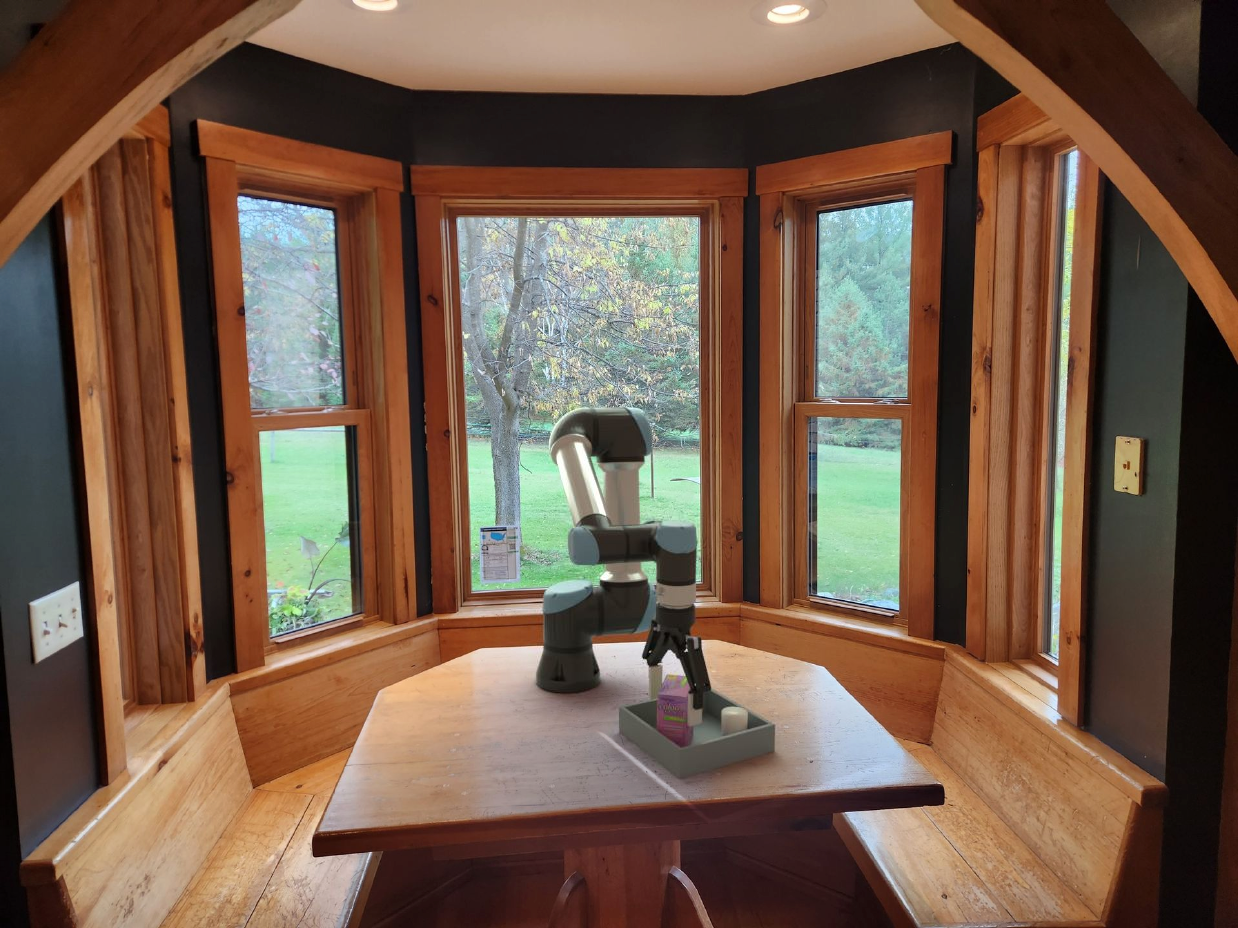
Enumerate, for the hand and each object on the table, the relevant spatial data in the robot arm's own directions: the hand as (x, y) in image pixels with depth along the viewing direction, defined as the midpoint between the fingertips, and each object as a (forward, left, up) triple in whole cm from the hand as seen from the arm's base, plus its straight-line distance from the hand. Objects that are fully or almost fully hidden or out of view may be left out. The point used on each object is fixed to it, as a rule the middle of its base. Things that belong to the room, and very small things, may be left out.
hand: (674, 710), depth 150 cm
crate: (+1, +4, -7) cm, 8 cm away
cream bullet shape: (+5, +10, -6) cm, 13 cm away
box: (+1, 0, -7) cm, 7 cm away
